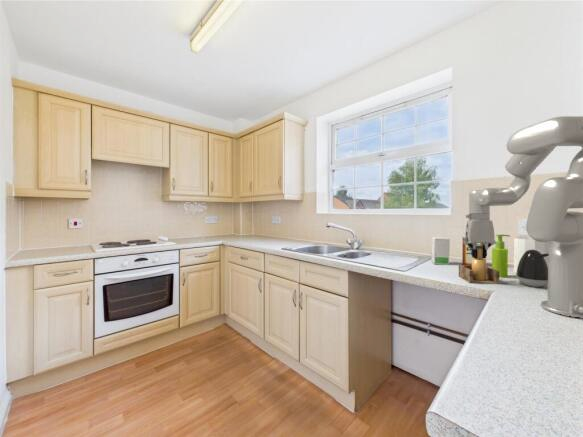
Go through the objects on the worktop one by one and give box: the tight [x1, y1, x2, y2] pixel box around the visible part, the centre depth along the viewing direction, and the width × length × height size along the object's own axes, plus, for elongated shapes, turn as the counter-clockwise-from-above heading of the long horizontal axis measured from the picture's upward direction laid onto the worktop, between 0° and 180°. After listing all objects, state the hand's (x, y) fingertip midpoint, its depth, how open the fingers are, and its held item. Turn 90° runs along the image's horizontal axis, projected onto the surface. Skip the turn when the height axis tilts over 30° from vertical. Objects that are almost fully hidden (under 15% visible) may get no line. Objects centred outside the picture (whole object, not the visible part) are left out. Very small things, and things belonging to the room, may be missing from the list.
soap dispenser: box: [491, 233, 511, 278], centre depth 123 cm, size 6×7×20 cm
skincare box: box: [431, 236, 451, 266], centre depth 152 cm, size 8×7×16 cm
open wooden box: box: [458, 264, 500, 285], centre depth 117 cm, size 11×11×6 cm
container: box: [513, 236, 553, 275], centre depth 125 cm, size 14×14×18 cm
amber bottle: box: [472, 245, 487, 280], centre depth 116 cm, size 5×5×15 cm
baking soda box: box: [461, 236, 482, 265], centre depth 148 cm, size 10×6×16 cm
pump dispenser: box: [516, 250, 549, 288], centre depth 108 cm, size 10×10×15 cm
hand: (478, 257), depth 116 cm, fingers closed on amber bottle, 2 cm apart
